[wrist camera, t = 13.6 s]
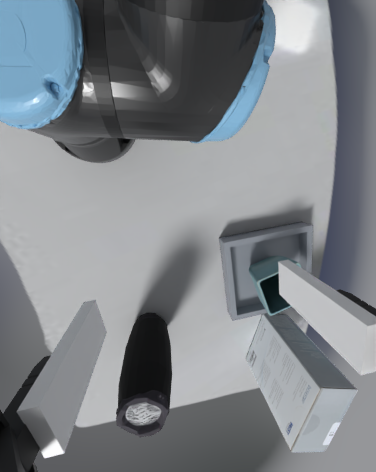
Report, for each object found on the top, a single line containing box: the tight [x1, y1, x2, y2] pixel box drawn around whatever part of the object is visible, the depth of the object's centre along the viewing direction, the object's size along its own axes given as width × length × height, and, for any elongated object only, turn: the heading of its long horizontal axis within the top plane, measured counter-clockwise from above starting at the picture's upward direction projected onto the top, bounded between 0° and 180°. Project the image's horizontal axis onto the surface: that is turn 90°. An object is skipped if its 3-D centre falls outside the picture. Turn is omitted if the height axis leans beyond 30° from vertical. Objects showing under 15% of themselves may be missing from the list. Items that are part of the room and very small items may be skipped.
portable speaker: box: [116, 313, 172, 437], centre depth 39 cm, size 9×9×20 cm
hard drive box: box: [246, 313, 358, 452], centre depth 44 cm, size 16×8×20 cm, turn 167°
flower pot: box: [249, 256, 301, 316], centre depth 42 cm, size 9×9×9 cm
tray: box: [219, 222, 313, 321], centre depth 46 cm, size 19×19×4 cm
